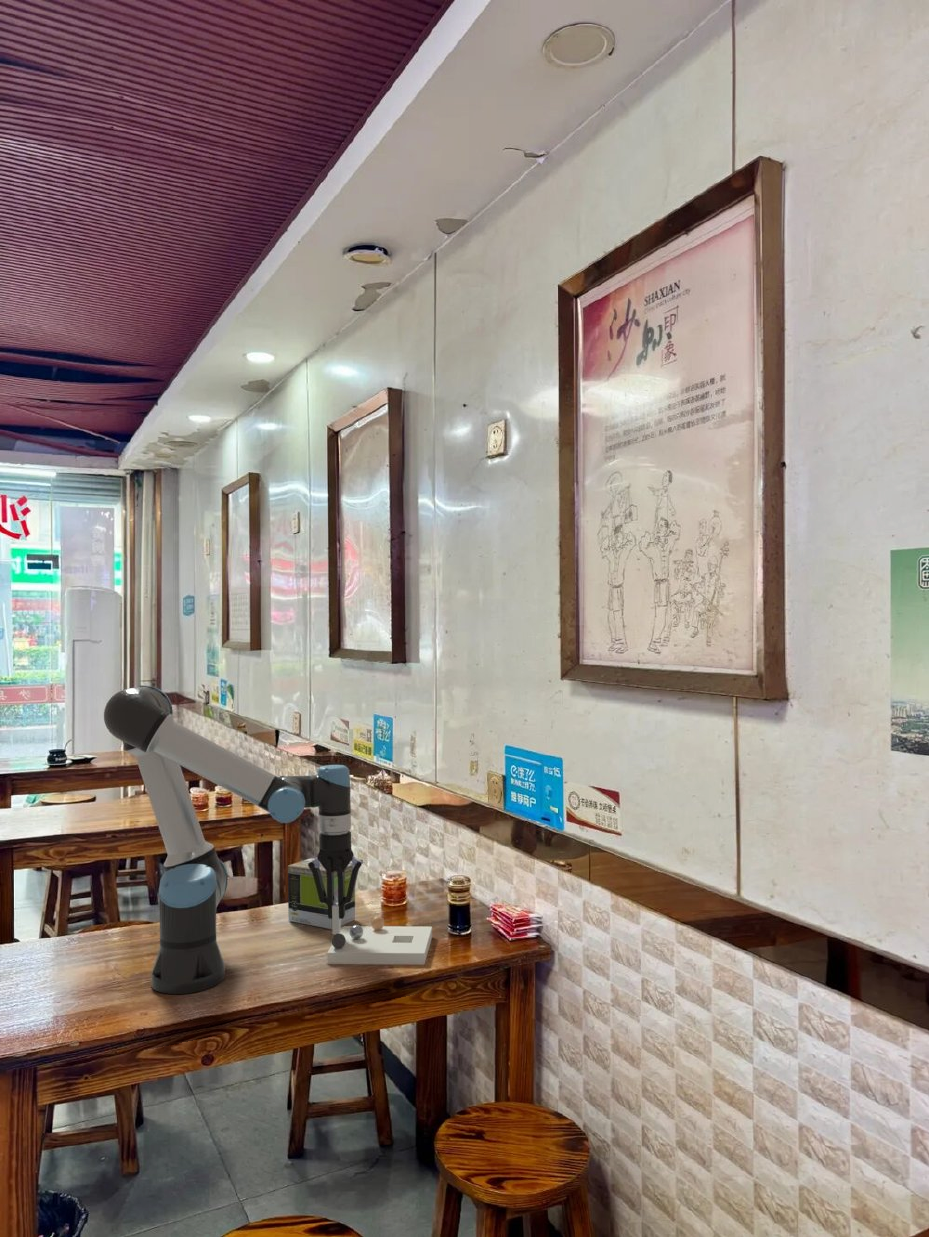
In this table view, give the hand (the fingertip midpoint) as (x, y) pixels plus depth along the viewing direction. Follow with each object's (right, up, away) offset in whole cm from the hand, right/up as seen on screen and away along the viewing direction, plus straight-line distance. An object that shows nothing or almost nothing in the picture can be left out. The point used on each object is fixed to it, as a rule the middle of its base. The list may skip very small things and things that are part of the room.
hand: (336, 931), depth 203 cm
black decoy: (+1, 0, -6) cm, 6 cm away
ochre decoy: (+9, 0, +6) cm, 11 cm away
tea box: (-7, -5, +21) cm, 23 cm away
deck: (+11, -4, -1) cm, 11 cm away
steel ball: (+5, 0, 0) cm, 5 cm away
